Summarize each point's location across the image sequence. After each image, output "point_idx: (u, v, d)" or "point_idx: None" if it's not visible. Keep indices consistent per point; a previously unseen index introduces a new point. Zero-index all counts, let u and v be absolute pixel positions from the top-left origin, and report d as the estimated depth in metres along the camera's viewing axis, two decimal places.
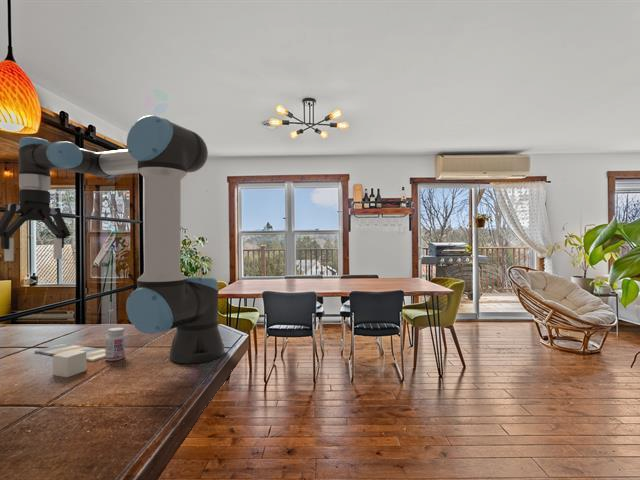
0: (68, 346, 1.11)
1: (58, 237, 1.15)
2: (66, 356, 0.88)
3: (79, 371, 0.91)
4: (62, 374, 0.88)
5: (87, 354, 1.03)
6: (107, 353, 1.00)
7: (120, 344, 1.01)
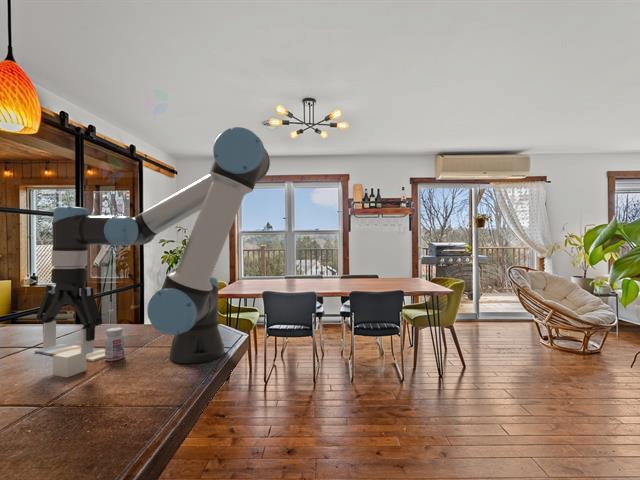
0: (68, 346, 1.11)
1: None
2: (66, 356, 0.88)
3: (79, 371, 0.91)
4: (62, 374, 0.88)
5: (87, 354, 1.03)
6: (106, 353, 0.99)
7: (118, 344, 1.00)
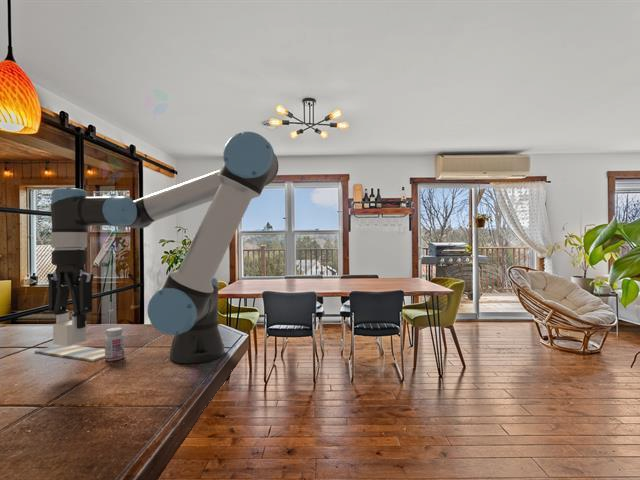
0: (68, 346, 1.11)
1: None
2: (66, 325, 0.88)
3: None
4: (62, 343, 0.88)
5: (87, 354, 1.03)
6: (106, 353, 1.00)
7: (118, 344, 1.00)
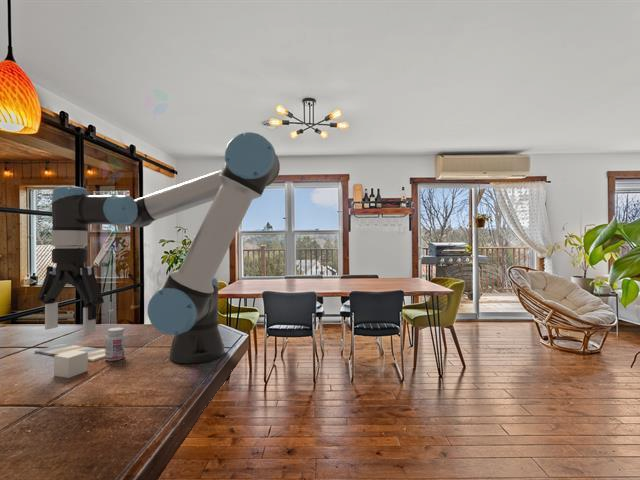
0: (68, 346, 1.11)
1: None
2: (67, 356, 0.88)
3: (80, 371, 0.90)
4: (63, 375, 0.88)
5: None
6: (106, 353, 1.00)
7: (118, 344, 1.00)
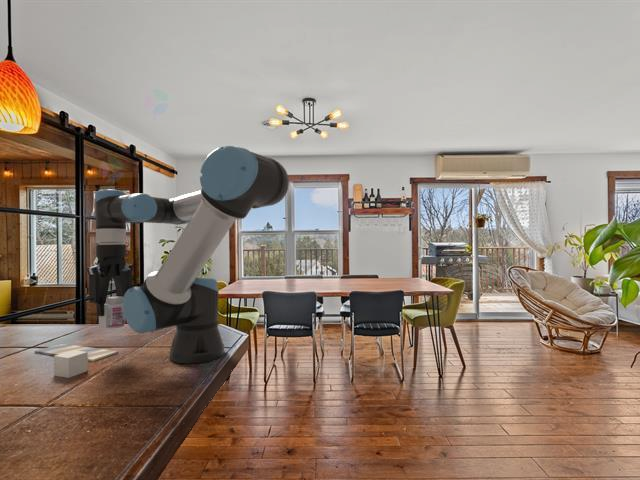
0: (68, 346, 1.11)
1: None
2: (67, 356, 0.88)
3: (80, 371, 0.90)
4: (63, 375, 0.88)
5: None
6: None
7: (118, 312, 1.00)
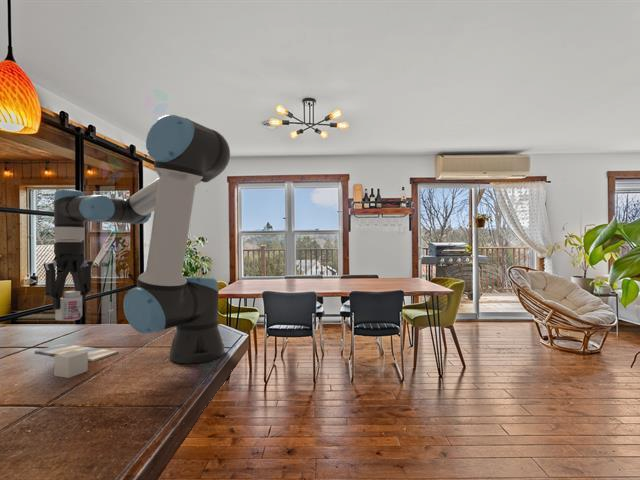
0: (68, 346, 1.11)
1: None
2: (67, 356, 0.88)
3: (80, 371, 0.90)
4: (63, 375, 0.88)
5: None
6: None
7: (74, 306, 1.06)
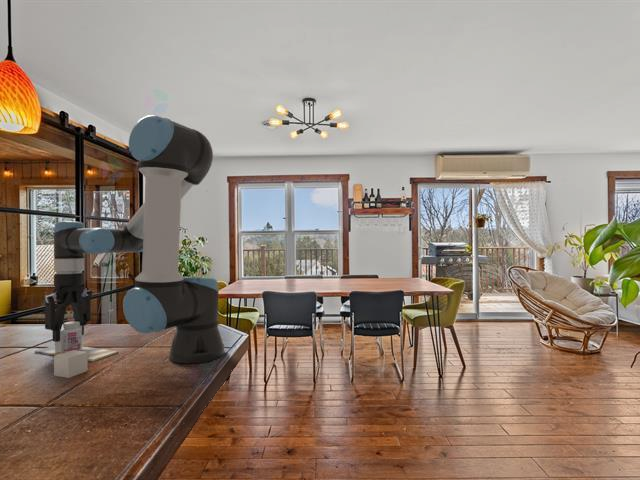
0: None
1: None
2: (67, 356, 0.88)
3: (80, 371, 0.90)
4: (63, 375, 0.88)
5: None
6: None
7: (73, 337, 1.06)
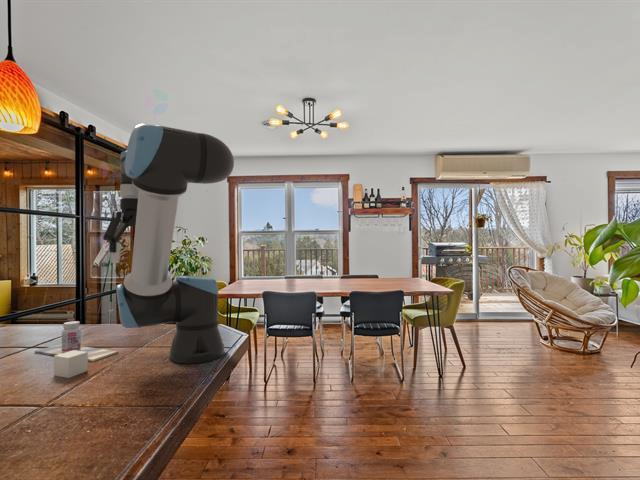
0: None
1: None
2: (67, 357, 0.88)
3: (80, 371, 0.90)
4: (63, 375, 0.88)
5: None
6: (62, 345, 1.05)
7: (73, 337, 1.06)
